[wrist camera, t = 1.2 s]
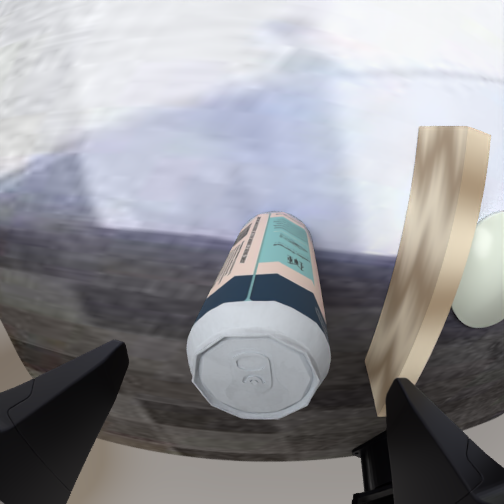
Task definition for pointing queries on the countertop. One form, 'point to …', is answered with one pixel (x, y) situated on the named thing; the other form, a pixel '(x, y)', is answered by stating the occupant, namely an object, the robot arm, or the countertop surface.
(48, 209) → the countertop surface
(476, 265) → the sage pad
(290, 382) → the beer can
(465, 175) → the birch screen
